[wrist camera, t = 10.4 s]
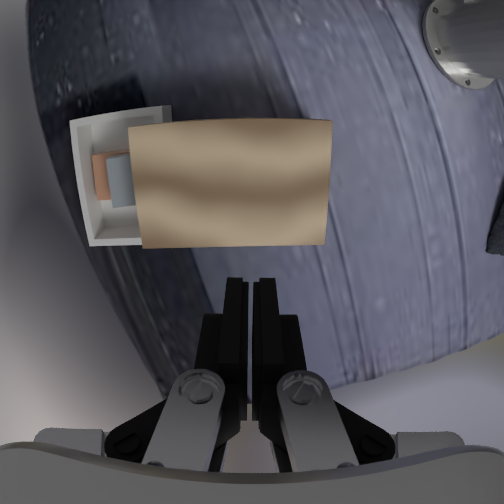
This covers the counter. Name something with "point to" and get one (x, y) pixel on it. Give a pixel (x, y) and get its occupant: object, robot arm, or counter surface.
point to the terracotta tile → (103, 173)
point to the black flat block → (497, 235)
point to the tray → (84, 146)
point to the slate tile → (120, 180)
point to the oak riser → (231, 181)
